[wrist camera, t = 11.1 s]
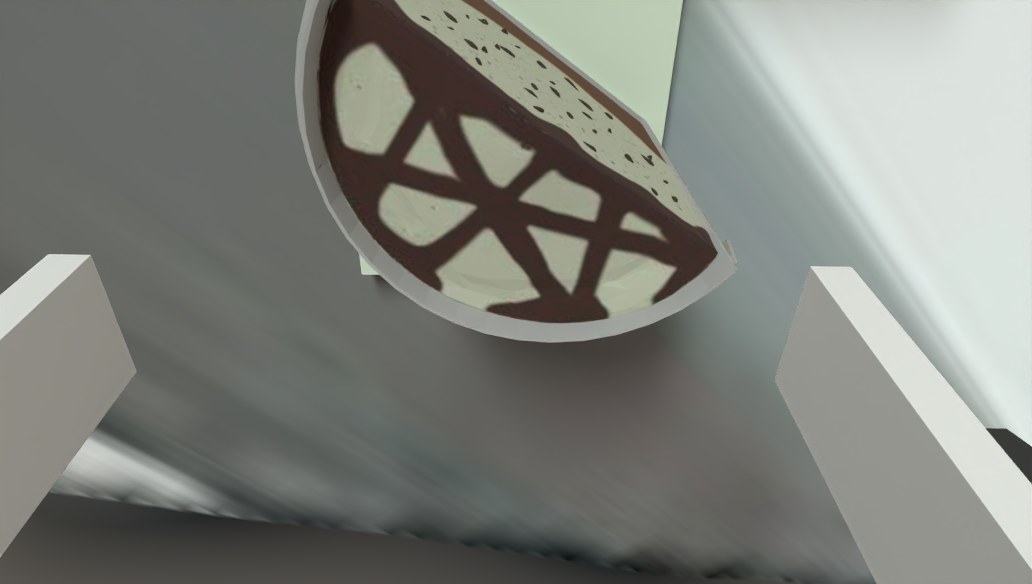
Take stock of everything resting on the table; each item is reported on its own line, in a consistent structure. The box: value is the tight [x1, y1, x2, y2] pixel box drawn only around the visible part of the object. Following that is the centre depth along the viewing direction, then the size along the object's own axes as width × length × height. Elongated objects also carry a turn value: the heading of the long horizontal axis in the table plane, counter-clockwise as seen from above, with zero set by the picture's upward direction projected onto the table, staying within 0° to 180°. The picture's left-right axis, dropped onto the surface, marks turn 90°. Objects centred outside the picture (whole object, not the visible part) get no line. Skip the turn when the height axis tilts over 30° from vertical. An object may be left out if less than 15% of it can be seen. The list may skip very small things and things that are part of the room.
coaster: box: [359, 0, 683, 275], centre depth 25 cm, size 12×14×1 cm
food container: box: [295, 0, 738, 343], centre depth 20 cm, size 12×6×10 cm, turn 54°
